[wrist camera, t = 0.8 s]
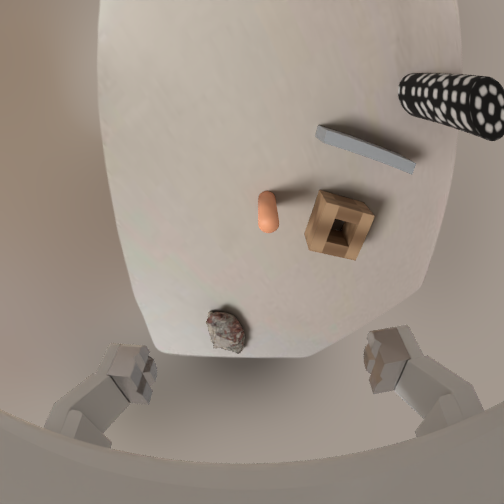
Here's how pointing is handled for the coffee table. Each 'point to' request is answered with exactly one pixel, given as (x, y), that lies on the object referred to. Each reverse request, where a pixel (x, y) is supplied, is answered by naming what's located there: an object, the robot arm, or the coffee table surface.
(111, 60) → the coffee table surface
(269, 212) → the orange rounded capsule
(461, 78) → the white-spotted black cylinder
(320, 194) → the block
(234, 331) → the mineral rock
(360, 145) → the slab
